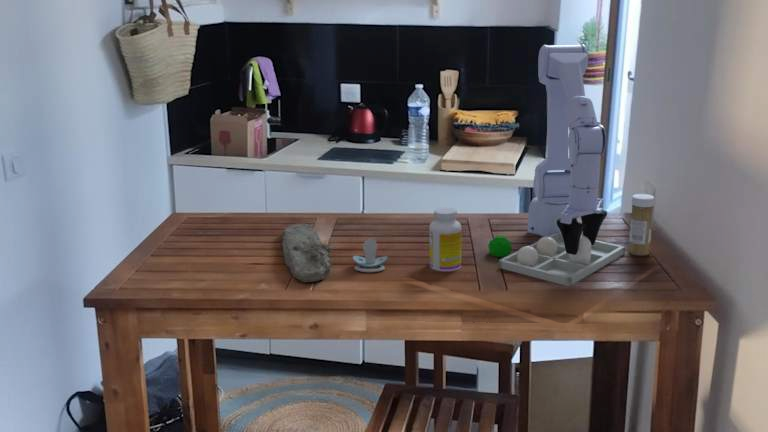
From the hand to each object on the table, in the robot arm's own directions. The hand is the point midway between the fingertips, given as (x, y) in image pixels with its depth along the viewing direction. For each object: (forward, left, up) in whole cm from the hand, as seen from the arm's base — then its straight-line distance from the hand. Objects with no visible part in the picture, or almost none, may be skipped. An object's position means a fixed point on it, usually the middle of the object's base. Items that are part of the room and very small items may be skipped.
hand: (580, 248), depth 163 cm
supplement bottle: (-21, -18, -5) cm, 28 cm away
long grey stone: (-50, -31, -5) cm, 60 cm away
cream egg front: (-8, -8, -4) cm, 12 cm away
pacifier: (-34, -28, -5) cm, 44 cm away
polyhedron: (-16, -5, -5) cm, 18 cm away
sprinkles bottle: (+6, +15, -5) cm, 17 cm away
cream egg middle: (-8, 0, -4) cm, 9 cm away
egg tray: (-4, 0, -4) cm, 6 cm away
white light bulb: (0, 0, -3) cm, 3 cm away
